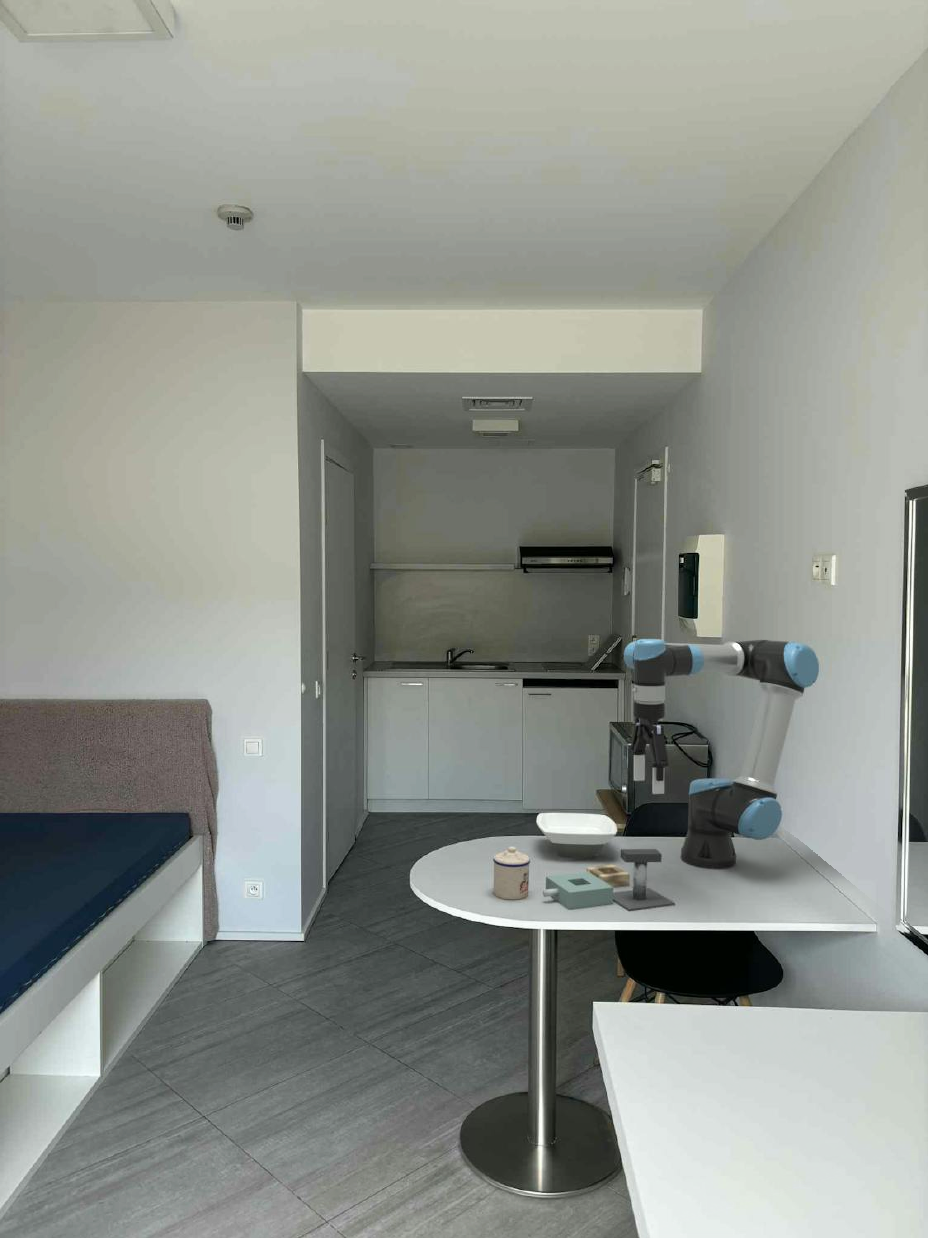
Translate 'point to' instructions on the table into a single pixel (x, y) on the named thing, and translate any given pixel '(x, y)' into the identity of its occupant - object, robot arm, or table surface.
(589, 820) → the bowl
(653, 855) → the block
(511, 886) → the teacup with lid
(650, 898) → the mat
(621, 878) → the beige square frame
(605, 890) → the block
